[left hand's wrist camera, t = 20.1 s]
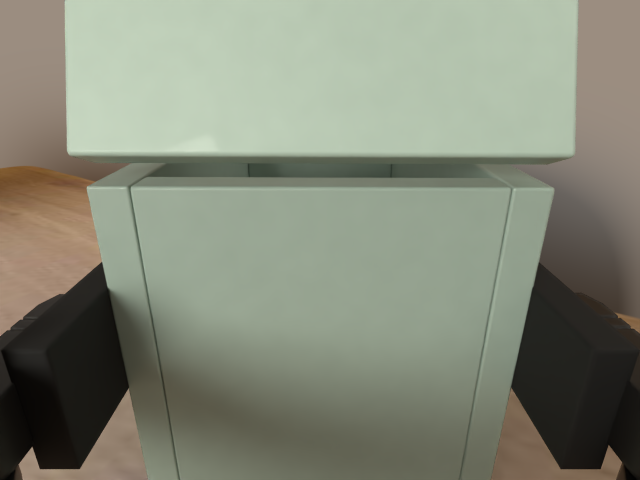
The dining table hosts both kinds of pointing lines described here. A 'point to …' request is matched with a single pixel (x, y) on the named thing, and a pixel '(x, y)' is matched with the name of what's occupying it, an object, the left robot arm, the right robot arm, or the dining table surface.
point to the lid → (321, 81)
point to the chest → (319, 314)
